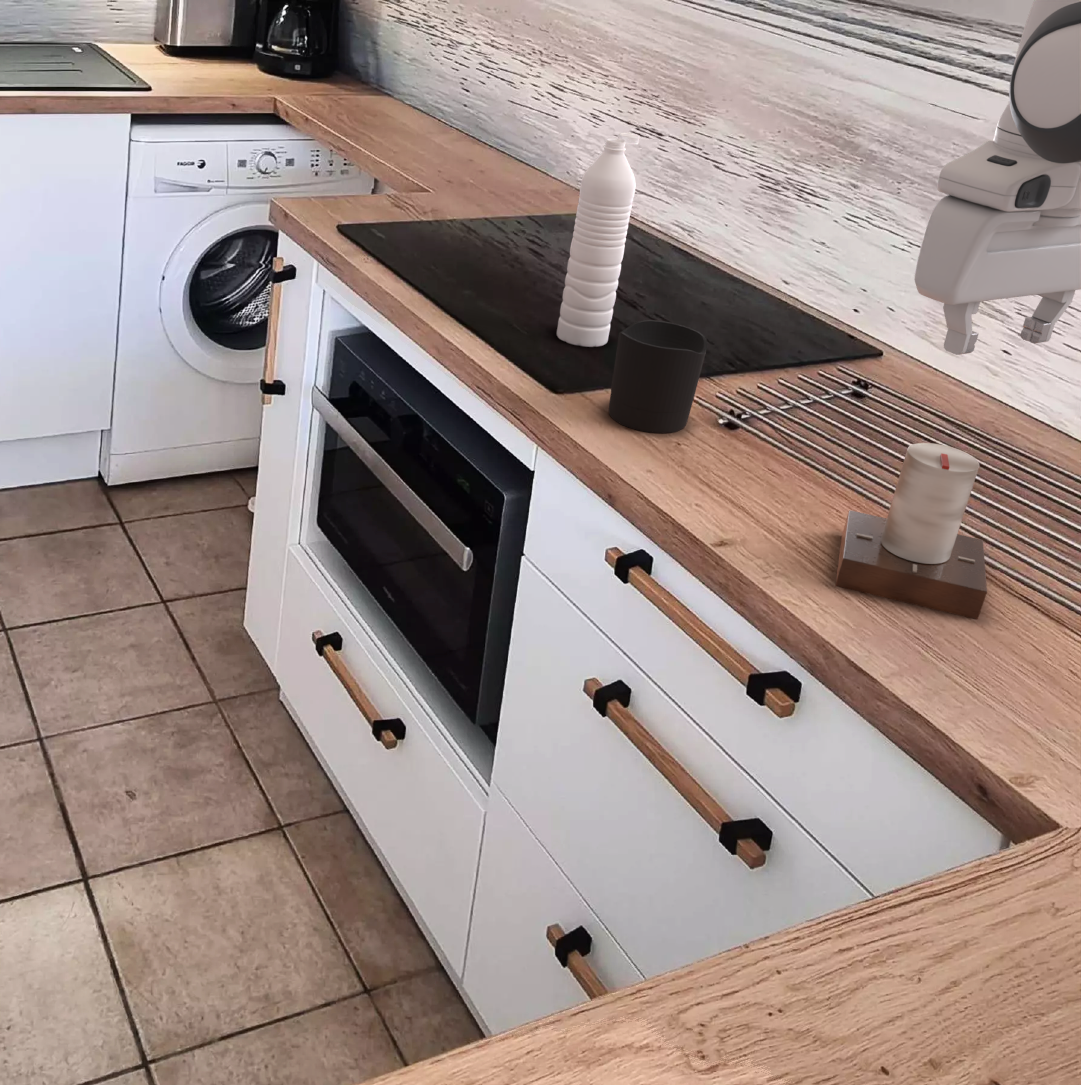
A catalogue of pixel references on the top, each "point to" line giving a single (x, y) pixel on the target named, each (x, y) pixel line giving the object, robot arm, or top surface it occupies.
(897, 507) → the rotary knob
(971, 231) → the robot arm
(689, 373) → the pen holder
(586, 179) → the water bottle
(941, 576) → the roll stand
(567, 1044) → the top surface
